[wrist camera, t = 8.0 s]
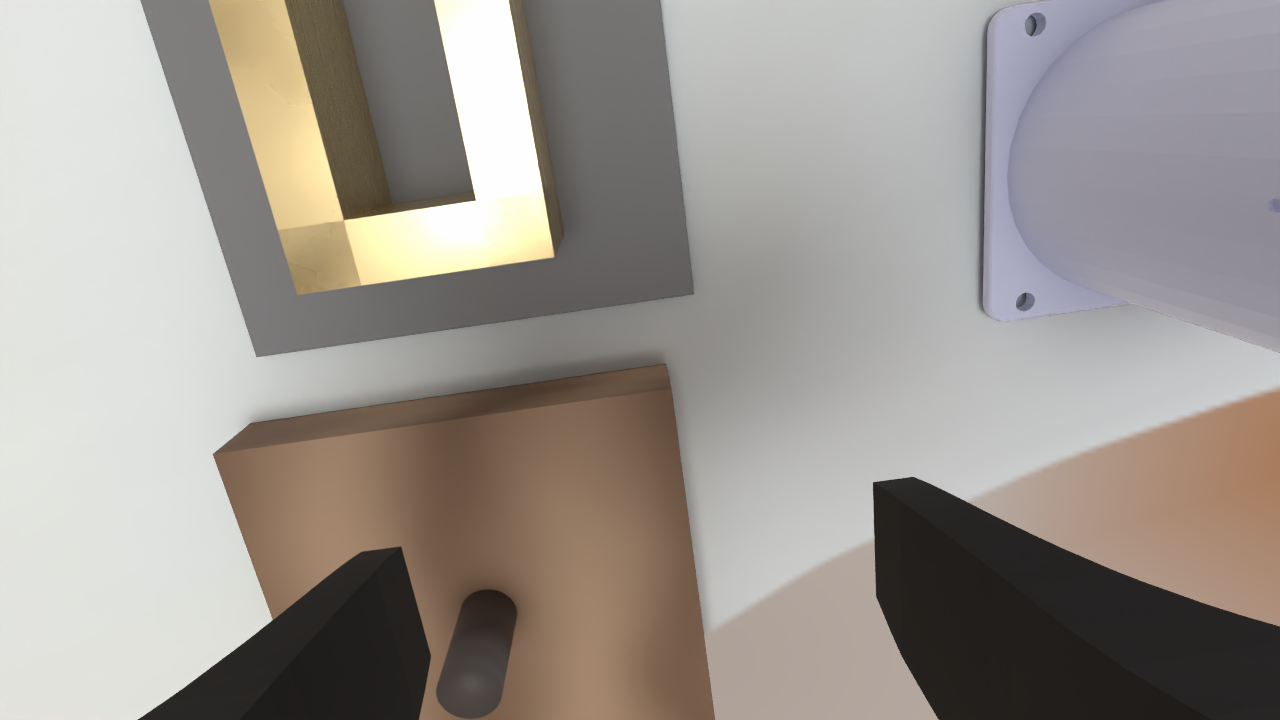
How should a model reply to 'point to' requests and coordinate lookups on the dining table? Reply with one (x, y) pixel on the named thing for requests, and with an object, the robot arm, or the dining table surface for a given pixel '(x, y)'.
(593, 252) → the mat
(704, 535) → the dining table surface
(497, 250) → the u link
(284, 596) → the peg stand
